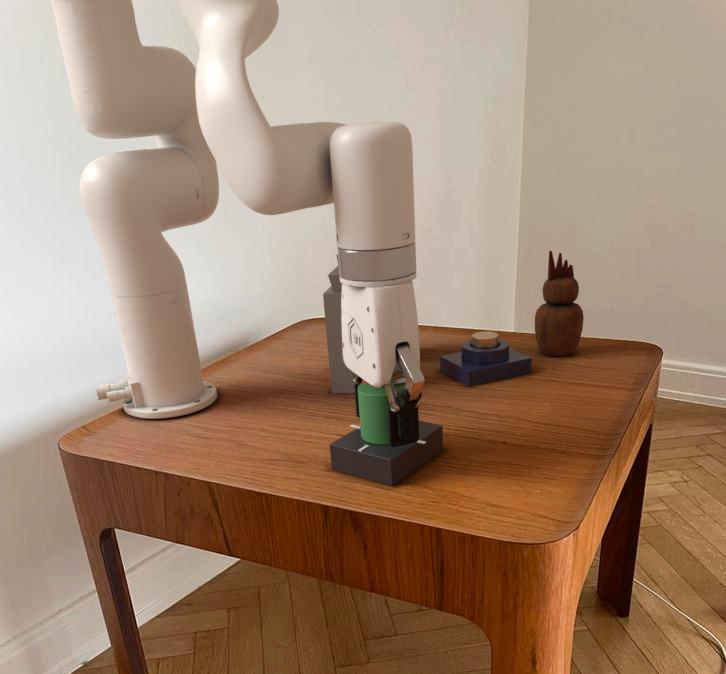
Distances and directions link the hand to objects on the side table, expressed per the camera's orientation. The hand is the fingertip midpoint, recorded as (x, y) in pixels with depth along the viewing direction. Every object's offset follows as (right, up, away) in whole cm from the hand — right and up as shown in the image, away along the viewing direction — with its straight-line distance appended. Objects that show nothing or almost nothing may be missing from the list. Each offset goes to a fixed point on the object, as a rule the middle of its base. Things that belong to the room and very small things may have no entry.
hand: (386, 428), depth 80 cm
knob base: (0, -3, +2) cm, 4 cm away
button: (+14, +13, +24) cm, 31 cm away
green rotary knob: (0, -1, 0) cm, 1 cm away
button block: (+15, +10, +25) cm, 31 cm away
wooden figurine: (+26, +13, +30) cm, 42 cm away
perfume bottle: (-3, +8, +24) cm, 25 cm away
